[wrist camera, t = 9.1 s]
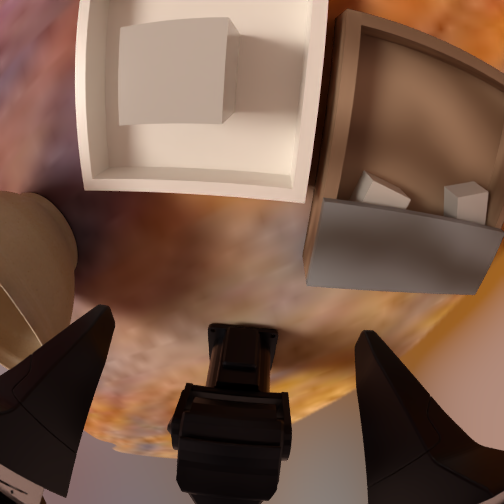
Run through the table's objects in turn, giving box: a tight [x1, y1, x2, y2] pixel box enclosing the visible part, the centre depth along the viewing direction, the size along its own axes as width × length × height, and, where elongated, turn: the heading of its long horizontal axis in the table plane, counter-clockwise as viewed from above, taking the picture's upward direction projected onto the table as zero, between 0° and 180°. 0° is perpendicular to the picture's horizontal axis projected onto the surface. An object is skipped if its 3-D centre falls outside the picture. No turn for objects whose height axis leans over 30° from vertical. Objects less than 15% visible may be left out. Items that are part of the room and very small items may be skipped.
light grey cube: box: [118, 17, 240, 126], centre depth 13 cm, size 5×5×5 cm
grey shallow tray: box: [302, 9, 504, 295], centre depth 16 cm, size 17×15×4 cm
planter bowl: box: [0, 191, 78, 370], centre depth 18 cm, size 16×16×11 cm
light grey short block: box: [349, 170, 411, 209], centre depth 18 cm, size 3×3×2 cm
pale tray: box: [75, 0, 328, 203], centre depth 14 cm, size 14×14×3 cm
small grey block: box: [444, 181, 488, 225], centre depth 17 cm, size 3×3×2 cm
